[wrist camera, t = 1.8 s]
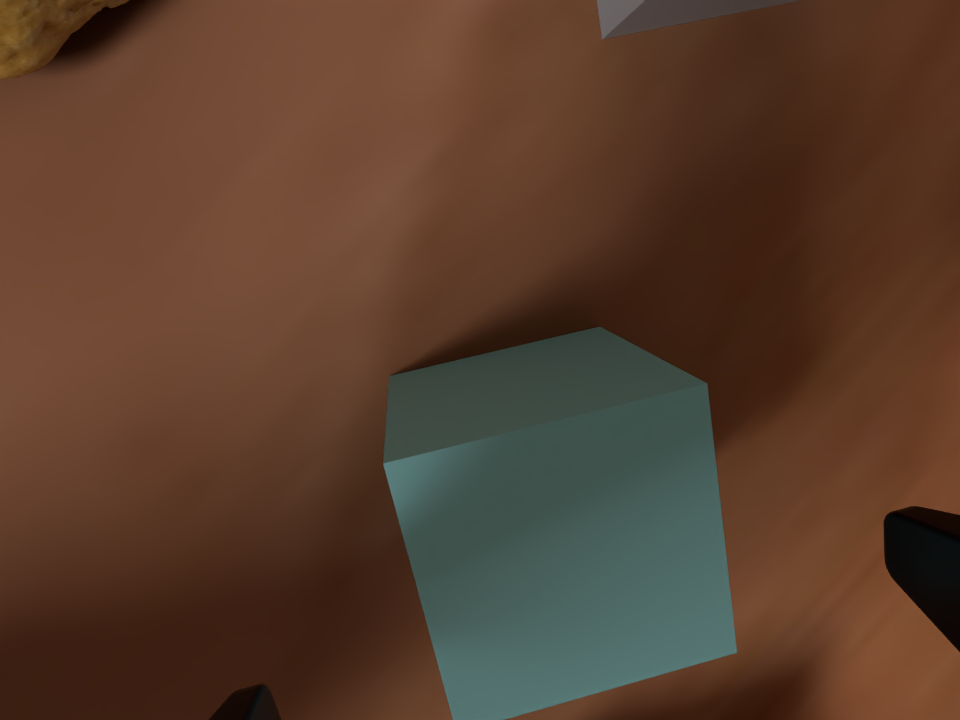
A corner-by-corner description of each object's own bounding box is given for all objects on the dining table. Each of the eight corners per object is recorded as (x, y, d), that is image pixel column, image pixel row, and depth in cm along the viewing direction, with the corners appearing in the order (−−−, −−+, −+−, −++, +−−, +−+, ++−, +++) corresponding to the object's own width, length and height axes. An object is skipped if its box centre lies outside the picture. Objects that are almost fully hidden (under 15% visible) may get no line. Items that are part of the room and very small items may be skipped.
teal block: (437, 562, 15) (456, 733, 10) (389, 375, 13) (383, 464, 8) (628, 513, 15) (736, 652, 10) (598, 325, 14) (707, 383, 9)
